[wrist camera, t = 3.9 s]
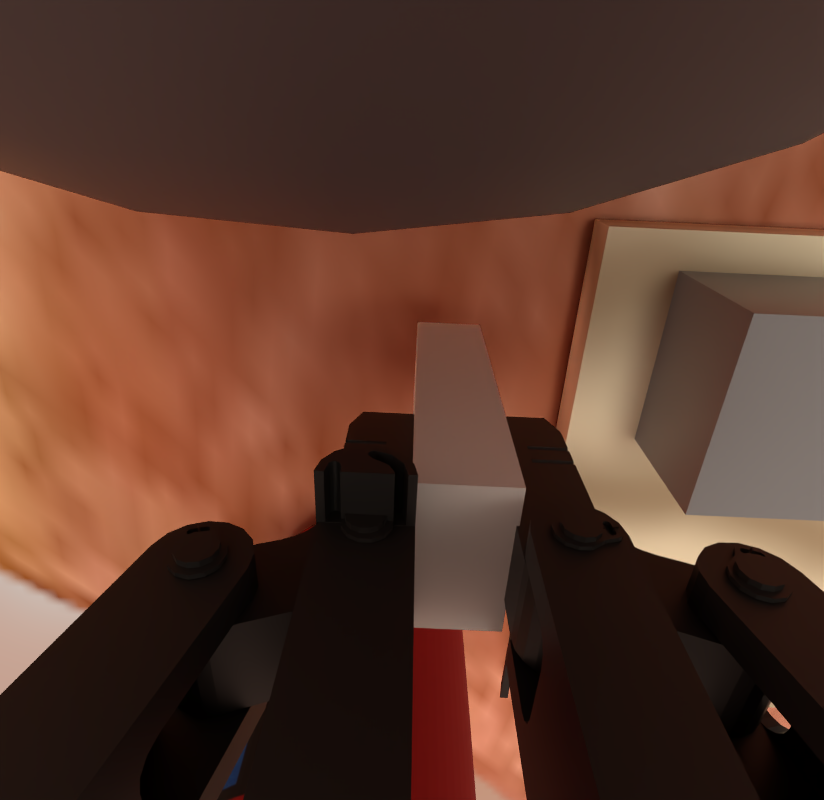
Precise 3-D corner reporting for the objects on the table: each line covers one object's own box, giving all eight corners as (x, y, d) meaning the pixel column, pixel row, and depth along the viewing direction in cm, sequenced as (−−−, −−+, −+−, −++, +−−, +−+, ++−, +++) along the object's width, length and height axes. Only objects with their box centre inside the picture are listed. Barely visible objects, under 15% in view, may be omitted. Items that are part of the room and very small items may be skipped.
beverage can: (248, 521, 19) (33, 1013, 9) (432, 482, 18) (447, 979, 8) (313, 647, 22) (211, 1131, 12) (475, 619, 21) (527, 1116, 11)
